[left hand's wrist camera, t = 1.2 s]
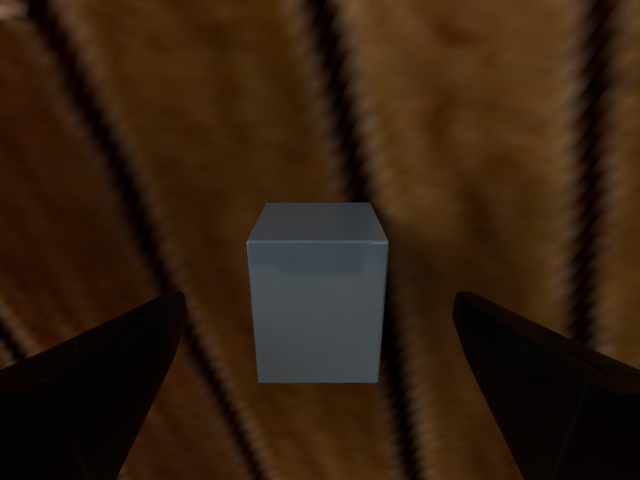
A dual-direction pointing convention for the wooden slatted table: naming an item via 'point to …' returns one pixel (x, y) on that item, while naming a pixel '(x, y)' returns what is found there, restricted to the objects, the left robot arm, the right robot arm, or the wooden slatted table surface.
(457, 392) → the wooden slatted table surface
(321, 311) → the brick
